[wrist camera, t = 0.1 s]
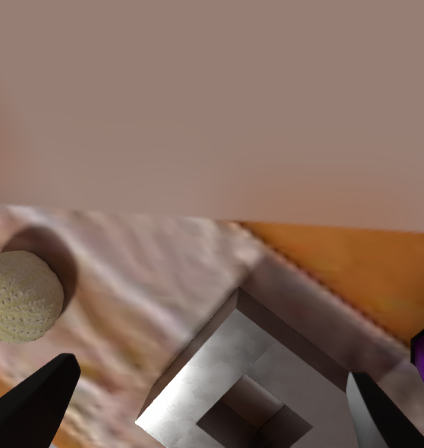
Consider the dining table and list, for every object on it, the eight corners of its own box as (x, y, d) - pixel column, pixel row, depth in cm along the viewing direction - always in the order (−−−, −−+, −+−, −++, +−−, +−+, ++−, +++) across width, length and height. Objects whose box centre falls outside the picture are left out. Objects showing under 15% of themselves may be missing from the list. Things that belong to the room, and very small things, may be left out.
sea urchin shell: (-24, 332, 28) (-95, 312, 21) (24, 266, 32) (-23, 231, 25) (53, 357, 27) (4, 344, 20) (92, 285, 31) (62, 254, 24)
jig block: (264, 476, 28) (265, 525, 24) (151, 387, 28) (134, 422, 24) (369, 387, 24) (391, 428, 20) (238, 286, 24) (235, 308, 20)
